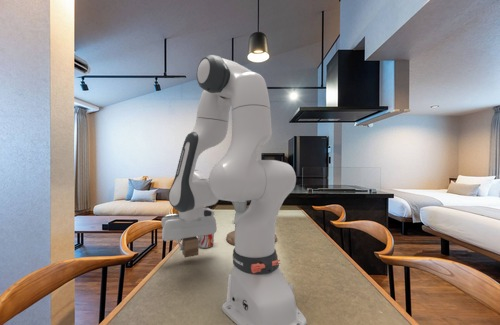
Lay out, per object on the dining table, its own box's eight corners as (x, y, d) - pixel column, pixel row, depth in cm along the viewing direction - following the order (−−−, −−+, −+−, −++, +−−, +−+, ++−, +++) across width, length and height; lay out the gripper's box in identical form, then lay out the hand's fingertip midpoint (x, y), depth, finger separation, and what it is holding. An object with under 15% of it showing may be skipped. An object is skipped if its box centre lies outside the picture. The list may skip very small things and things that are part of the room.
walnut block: (198, 255, 86) (198, 239, 86) (185, 257, 84) (185, 241, 84) (195, 250, 90) (195, 235, 90) (182, 252, 88) (182, 237, 88)
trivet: (269, 252, 97) (269, 248, 97) (217, 245, 106) (217, 240, 106) (281, 234, 121) (281, 231, 121) (238, 230, 129) (238, 226, 129)
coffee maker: (228, 225, 138) (228, 195, 138) (232, 221, 147) (232, 193, 146) (253, 226, 135) (253, 196, 135) (255, 222, 144) (255, 194, 144)
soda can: (210, 249, 99) (210, 222, 99) (195, 248, 101) (195, 221, 101) (215, 243, 106) (216, 218, 106) (201, 242, 108) (201, 217, 108)
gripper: (162, 216, 79) (162, 256, 79) (217, 211, 89) (218, 246, 89) (160, 213, 85) (160, 250, 85) (212, 208, 95) (212, 241, 94)
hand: (190, 248), depth 87 cm, fingers closed on walnut block, 5 cm apart
